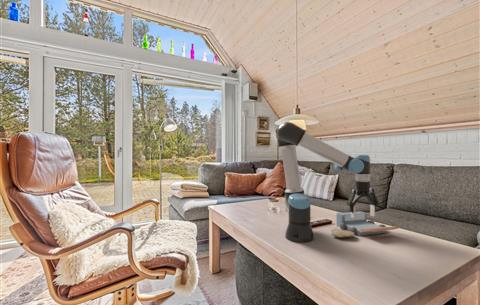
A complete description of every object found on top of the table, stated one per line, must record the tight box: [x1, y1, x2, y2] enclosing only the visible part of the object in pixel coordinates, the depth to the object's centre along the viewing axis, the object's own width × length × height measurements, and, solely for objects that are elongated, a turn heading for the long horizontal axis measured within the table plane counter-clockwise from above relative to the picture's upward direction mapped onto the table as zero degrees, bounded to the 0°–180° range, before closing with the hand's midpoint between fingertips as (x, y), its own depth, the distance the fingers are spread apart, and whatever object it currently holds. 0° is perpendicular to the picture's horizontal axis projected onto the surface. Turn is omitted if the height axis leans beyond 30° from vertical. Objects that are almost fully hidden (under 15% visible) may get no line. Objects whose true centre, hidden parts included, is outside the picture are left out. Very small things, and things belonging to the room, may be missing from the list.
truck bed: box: [336, 211, 387, 236], centre depth 138 cm, size 22×20×8 cm
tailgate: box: [360, 226, 399, 232], centre depth 125 cm, size 17×1×8 cm
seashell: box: [331, 228, 355, 239], centre depth 127 cm, size 12×12×3 cm
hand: (362, 216), depth 136 cm, fingers open, 13 cm apart
